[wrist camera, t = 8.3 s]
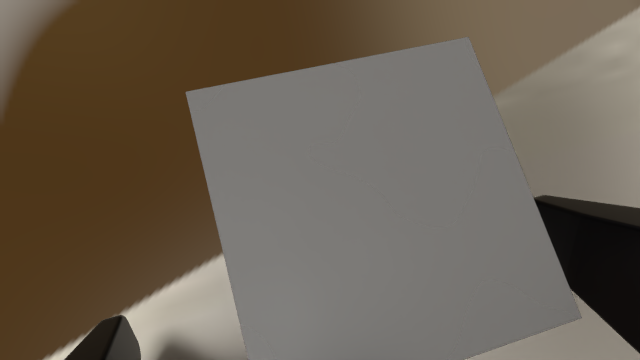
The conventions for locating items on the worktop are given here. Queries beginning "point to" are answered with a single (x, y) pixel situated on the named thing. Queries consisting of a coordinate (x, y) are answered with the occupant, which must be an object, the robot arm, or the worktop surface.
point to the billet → (376, 211)
